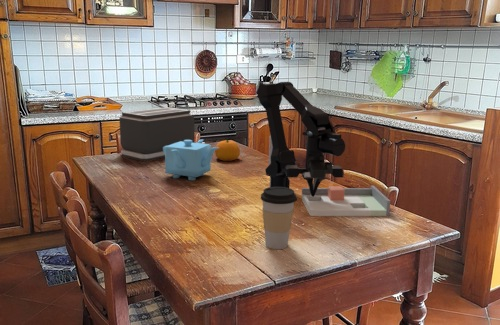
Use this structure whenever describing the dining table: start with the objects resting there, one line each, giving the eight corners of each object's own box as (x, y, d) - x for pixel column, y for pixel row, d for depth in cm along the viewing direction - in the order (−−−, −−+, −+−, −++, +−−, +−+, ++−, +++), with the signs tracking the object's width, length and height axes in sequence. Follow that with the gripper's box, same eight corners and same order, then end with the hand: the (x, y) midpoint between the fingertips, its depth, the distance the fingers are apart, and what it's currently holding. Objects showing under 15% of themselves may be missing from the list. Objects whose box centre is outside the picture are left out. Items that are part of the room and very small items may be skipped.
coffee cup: (257, 238, 131) (258, 185, 127) (291, 237, 131) (293, 185, 128) (261, 252, 121) (262, 196, 118) (297, 252, 122) (300, 196, 119)
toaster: (199, 150, 239) (199, 109, 234) (145, 162, 212) (144, 116, 207) (172, 144, 250) (171, 106, 245) (118, 155, 224) (116, 112, 219)
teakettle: (160, 172, 196) (159, 137, 192) (204, 168, 203) (204, 134, 199) (172, 184, 179) (171, 146, 175) (219, 180, 186) (219, 143, 183)
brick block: (330, 200, 158) (331, 190, 157) (327, 196, 162) (328, 186, 162) (343, 200, 158) (344, 190, 157) (340, 196, 163) (341, 186, 162)
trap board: (310, 216, 149) (311, 200, 147) (301, 199, 165) (302, 185, 164) (389, 216, 150) (390, 201, 149) (372, 199, 167) (373, 185, 165)
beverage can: (279, 171, 202) (280, 136, 198) (267, 170, 203) (268, 135, 199) (281, 168, 206) (282, 134, 203) (269, 167, 207) (270, 133, 204)
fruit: (239, 162, 215) (239, 140, 213) (213, 162, 215) (213, 140, 213) (240, 156, 226) (240, 136, 224) (215, 156, 226) (215, 135, 224)
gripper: (290, 155, 147) (288, 203, 151) (349, 156, 149) (346, 203, 152) (285, 148, 158) (283, 193, 162) (341, 148, 159) (338, 193, 163)
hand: (312, 196), depth 159 cm, fingers closed
